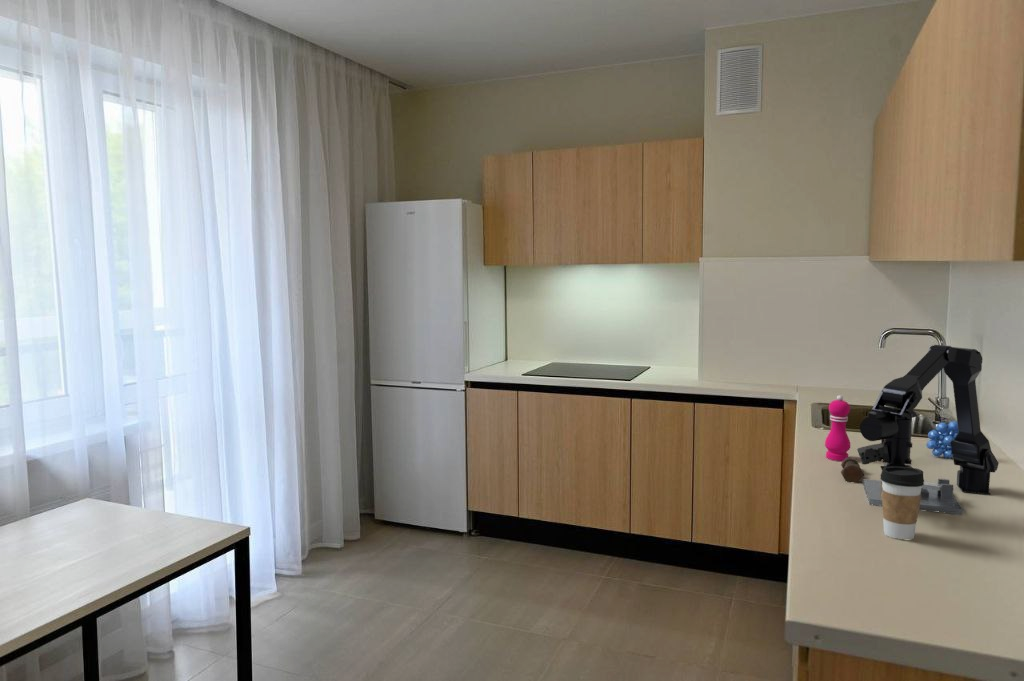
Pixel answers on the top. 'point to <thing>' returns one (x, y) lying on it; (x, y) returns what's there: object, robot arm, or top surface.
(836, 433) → the pepper mill
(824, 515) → the top surface
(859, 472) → the bolt
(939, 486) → the strap
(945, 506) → the base
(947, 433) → the grapes
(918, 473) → the coffee cup
